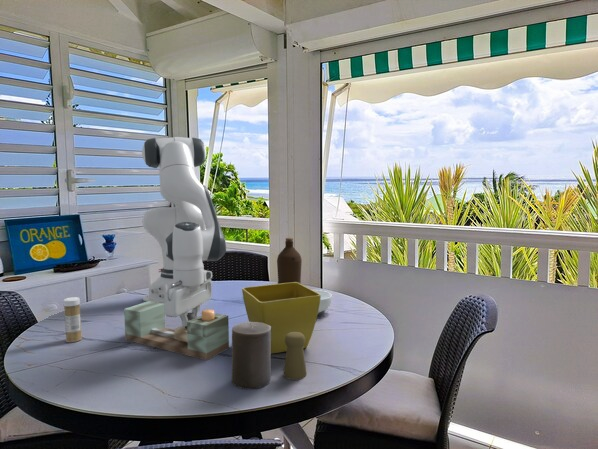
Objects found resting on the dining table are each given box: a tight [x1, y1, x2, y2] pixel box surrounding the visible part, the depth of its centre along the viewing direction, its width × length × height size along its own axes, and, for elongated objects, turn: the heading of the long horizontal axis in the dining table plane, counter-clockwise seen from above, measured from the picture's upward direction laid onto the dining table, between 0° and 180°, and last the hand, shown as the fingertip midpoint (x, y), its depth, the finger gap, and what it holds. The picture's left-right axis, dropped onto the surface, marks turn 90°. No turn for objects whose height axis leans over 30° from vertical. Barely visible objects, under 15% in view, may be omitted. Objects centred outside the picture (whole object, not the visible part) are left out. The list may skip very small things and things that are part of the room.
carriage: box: [173, 312, 195, 343], centre depth 131 cm, size 6×7×8 cm
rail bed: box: [123, 301, 230, 361], centre depth 134 cm, size 33×10×10 cm, turn 61°
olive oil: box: [276, 237, 303, 284], centre depth 190 cm, size 11×11×25 cm
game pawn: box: [283, 332, 307, 381], centre depth 113 cm, size 6×6×11 cm
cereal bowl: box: [312, 289, 333, 315], centre depth 166 cm, size 17×17×7 cm
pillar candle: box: [231, 321, 272, 390], centre depth 110 cm, size 10×10×15 cm
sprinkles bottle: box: [62, 296, 83, 343], centre depth 137 cm, size 5×5×14 cm
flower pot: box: [241, 282, 321, 354], centre depth 134 cm, size 19×19×17 cm
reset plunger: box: [201, 308, 215, 322], centre depth 128 cm, size 4×4×4 cm
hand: (190, 322), depth 131 cm, fingers closed on carriage, 3 cm apart
